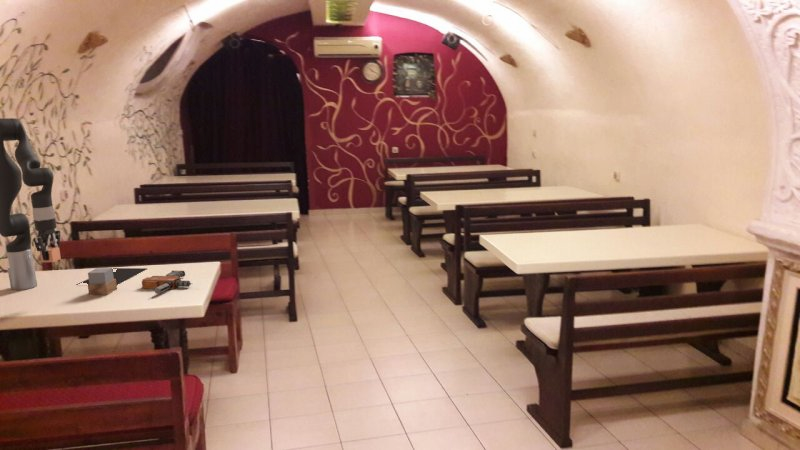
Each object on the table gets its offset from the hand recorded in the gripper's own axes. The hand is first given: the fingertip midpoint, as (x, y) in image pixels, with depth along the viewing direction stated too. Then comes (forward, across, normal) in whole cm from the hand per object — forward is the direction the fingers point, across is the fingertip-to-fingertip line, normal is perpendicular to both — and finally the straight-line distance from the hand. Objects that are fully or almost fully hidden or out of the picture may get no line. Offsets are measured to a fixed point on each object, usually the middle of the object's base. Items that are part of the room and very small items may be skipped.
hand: (50, 258), depth 240 cm
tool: (+18, -18, +43) cm, 50 cm away
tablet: (+19, -33, +6) cm, 38 cm away
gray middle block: (+13, -10, +14) cm, 22 cm away
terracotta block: (+1, 0, 0) cm, 1 cm away
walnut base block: (+18, -10, +14) cm, 25 cm away
